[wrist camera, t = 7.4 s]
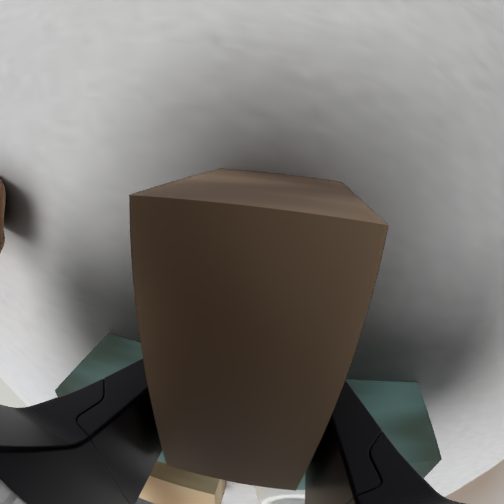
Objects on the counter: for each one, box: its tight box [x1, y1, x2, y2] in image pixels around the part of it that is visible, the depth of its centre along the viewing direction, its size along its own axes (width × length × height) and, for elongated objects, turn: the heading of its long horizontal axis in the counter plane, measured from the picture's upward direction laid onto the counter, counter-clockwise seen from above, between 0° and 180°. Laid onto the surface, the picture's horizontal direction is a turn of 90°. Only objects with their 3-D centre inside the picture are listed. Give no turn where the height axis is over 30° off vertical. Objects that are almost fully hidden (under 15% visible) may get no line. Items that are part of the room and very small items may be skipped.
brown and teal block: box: [55, 169, 441, 491], centre depth 8 cm, size 13×9×5 cm
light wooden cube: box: [139, 461, 226, 504], centre depth 13 cm, size 5×5×3 cm
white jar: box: [253, 485, 305, 504], centre depth 12 cm, size 5×3×5 cm
